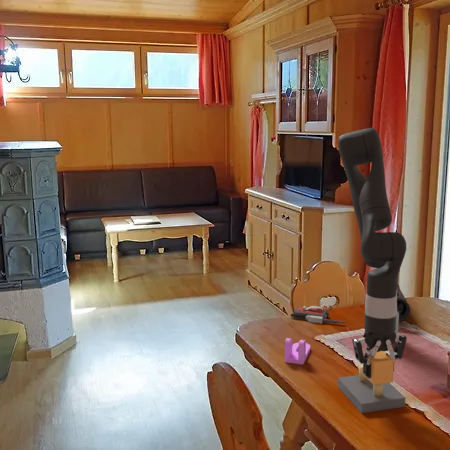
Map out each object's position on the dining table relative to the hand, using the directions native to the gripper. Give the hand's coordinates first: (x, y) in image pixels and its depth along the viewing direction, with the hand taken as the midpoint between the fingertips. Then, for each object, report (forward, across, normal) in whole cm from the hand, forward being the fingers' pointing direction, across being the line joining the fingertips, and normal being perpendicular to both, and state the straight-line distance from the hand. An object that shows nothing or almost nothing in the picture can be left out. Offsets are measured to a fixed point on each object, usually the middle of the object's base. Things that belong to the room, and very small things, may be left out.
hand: (378, 375), depth 134 cm
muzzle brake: (+8, -37, -59) cm, 70 cm away
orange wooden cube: (+1, 0, 0) cm, 1 cm away
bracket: (+8, +9, -33) cm, 35 cm away
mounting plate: (+8, 0, -4) cm, 9 cm away
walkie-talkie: (+8, -8, -59) cm, 60 cm away
